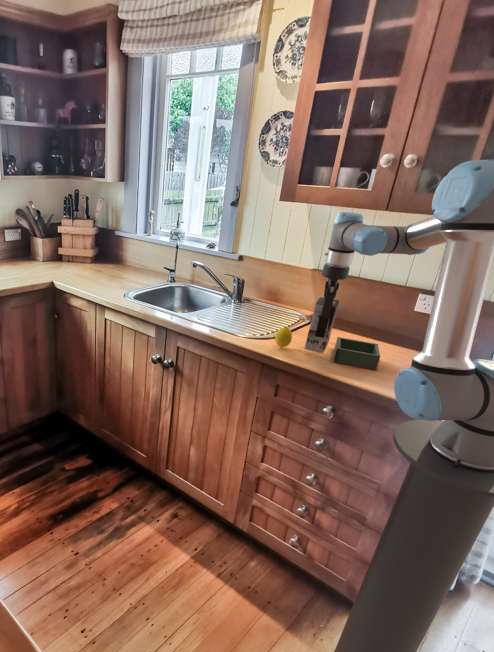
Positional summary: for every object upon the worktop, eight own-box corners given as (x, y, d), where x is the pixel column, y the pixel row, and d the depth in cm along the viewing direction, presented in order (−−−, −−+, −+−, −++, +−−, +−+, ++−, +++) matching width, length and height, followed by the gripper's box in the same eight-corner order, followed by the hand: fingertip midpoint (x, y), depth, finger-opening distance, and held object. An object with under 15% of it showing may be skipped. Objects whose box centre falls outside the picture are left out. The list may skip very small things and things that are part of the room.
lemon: (273, 349, 164) (277, 328, 161) (273, 343, 169) (278, 323, 166) (289, 352, 163) (294, 330, 159) (289, 346, 168) (294, 325, 164)
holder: (375, 370, 153) (380, 356, 150) (333, 362, 157) (337, 348, 155) (373, 357, 162) (377, 343, 160) (333, 349, 167) (337, 336, 165)
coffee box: (323, 354, 153) (336, 307, 145) (303, 349, 155) (314, 303, 148) (328, 345, 160) (340, 300, 152) (308, 340, 162) (320, 296, 155)
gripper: (325, 256, 155) (309, 320, 165) (323, 270, 137) (306, 340, 147) (349, 259, 153) (332, 323, 163) (350, 274, 134) (331, 345, 144)
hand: (319, 331), depth 155 cm, fingers closed on coffee box, 9 cm apart
